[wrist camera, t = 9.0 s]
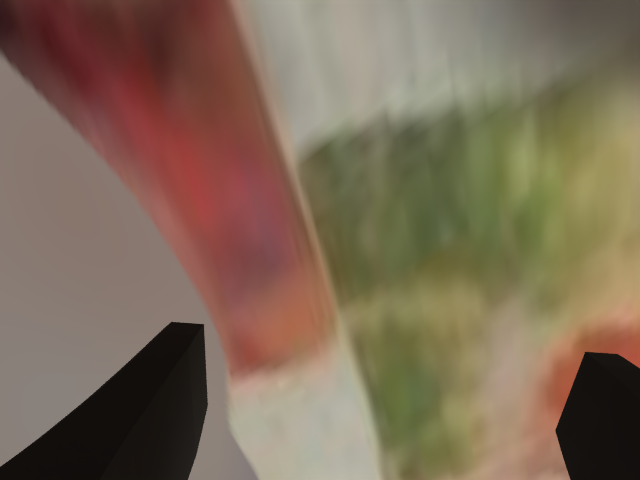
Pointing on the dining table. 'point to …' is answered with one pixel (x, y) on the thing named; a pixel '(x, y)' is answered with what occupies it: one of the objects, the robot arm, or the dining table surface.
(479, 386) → the dining table surface
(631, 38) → the dining table surface
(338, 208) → the dining table surface
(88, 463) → the robot arm
